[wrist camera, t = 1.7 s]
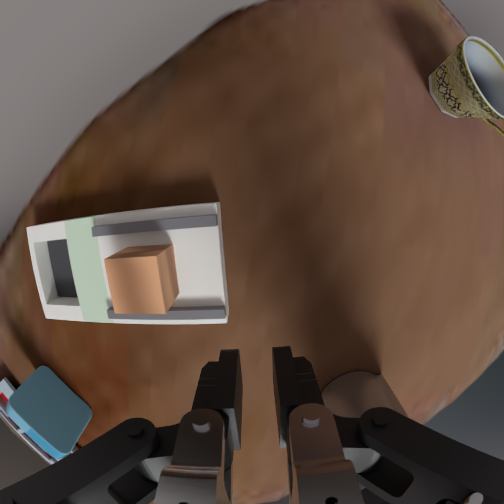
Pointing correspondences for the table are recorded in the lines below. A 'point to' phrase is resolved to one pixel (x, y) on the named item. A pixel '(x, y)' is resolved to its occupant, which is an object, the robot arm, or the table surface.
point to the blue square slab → (49, 412)
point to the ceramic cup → (470, 82)
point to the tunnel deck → (118, 238)
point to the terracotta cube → (142, 279)
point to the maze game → (3, 391)
